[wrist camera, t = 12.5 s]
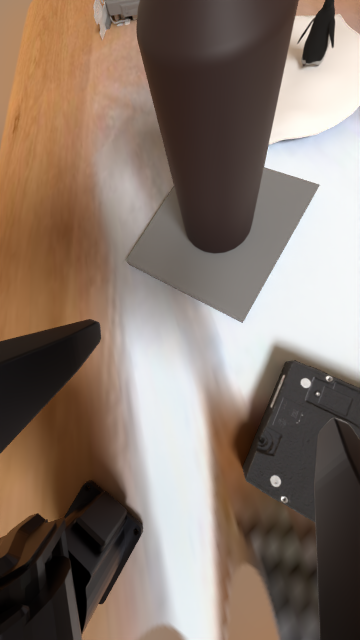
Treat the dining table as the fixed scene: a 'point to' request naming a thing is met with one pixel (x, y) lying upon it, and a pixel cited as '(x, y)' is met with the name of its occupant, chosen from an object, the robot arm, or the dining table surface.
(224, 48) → the brown bottle
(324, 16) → the figurine
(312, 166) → the dining table surface
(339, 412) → the disk drive
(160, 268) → the mat
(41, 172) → the dining table surface
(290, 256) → the dining table surface
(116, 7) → the graphics card
